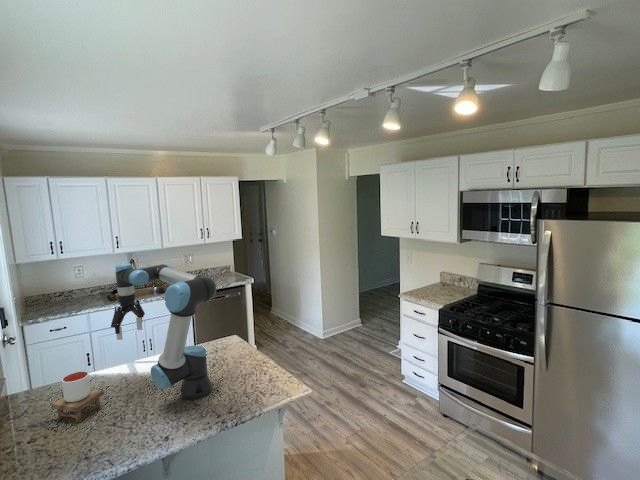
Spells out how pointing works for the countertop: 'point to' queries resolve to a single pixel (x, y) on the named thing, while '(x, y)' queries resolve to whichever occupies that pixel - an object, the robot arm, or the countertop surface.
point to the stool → (77, 405)
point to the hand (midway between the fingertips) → (130, 334)
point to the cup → (76, 386)
